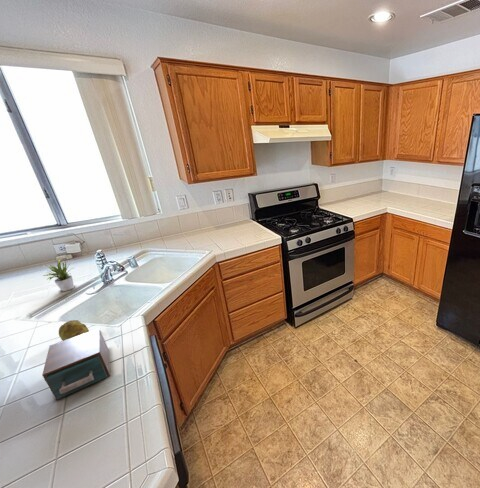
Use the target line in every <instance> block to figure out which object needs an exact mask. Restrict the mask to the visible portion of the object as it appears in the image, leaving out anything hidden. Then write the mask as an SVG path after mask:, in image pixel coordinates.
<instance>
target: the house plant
mask: <svg viewBox="0 0 480 488" xmlns="http://www.w3.org/2000/svg"><path fill="white" fill-rule="evenodd" d="M41 266H43V267H47V268H49V270H48V273H46V274H44V275H42V277H43V278H45V277H47V280H52V279H53V278H54V280H53V282H54V283H55V285H56V286H57V288H59V289H60V291H61V292H67V291H70V290H73V289H74V288H75V283H74V279H73V275H72V274H71V273H68V272H71V270H72V269H74V267H72V268H70V269H69V270H68V268H69V266H70V264H67V261H65V262H64V260H62V266H61V260H60V259H58V260H57V265H56V266H54V265H52V264H50V265H45V264H44V265H41ZM37 271H40V269H38V270H37Z"/></svg>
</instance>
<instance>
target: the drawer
mask: <svg viewBox="0 0 480 488" xmlns="http://www.w3.org/2000/svg"><path fill="white" fill-rule="evenodd" d="M106 378H108V377H107V374H106V371H105V369H104V367H103V365H102V363H101V360H100V358H99V356H95V357H92V358H90V359H87V360H85V361H82V362H80V363H77V364H75V365H72V366H70V367H67V368H65V369H62V370H60V371H57V372H55V373H52V374H51V375H49V376H47V377H46V380H47V382H48V383H49V385H50V387H51V389H52V390H53V392H54V394H55V396H56V397H57V400H59V399H62V398H64V397H66V396H68V395H71V394H72V392H73V393H75V392H77V391H79V389H80V390H82V389H84V388H85V387H88V385H89V386H91V385H93V384H95V383H98V382H100V381H102V380H104V379H106ZM101 379H102V380H101ZM99 380H100V381H99ZM90 384H91V385H90ZM81 388H82V389H81ZM70 393H71V394H70ZM63 396H64V397H63ZM61 397H62V398H61Z"/></svg>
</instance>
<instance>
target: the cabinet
mask: <svg viewBox="0 0 480 488" xmlns="http://www.w3.org/2000/svg"><path fill="white" fill-rule="evenodd" d="M95 356H99V358H100V360H101V363H102V365H103V367H104V369H105V371H106V374H107V377H106V378H109V377H111V366H110V350H109V348H108V344H107V343H106V339H105V338H104V335H103V333H102V331H101V329H100V327H98V328H96V329H93V330H92V329H91V330H89V332H87V333H84V334H81V335H78V336H75V337H73V338H70V339H67V340H64V341H63V340H62V341H59V342H56V343H52V344H50V345H49V347H48V350H47V355H46V358H45V362H44V365H43V366H44V367H43V369H42V374H41V376H42V377H43V379H44V381H45V383H46V384H47V386H48V388H49V390H50V391H51V393H52V395H53V396H54V399H55V400H56V401H57V400H58V399H57V397H56V396H55V394H54V392H53V390H52V389H51V387H50V385H49V383H48V382H47V380H46V377H47V376H49V375H51V374H52V373H55V372H57V371H60V370H62V369H65V368H67V367H70V366H72V365H75V364H77V363H80V362H82V361H85V360H87V359H90V358H92V357H95ZM102 380H103V379H101V380H99V381H98V382H100V381H102ZM91 385H92V384H90V385H88V386H91ZM88 386H87V387H88ZM82 389H83V388H81V389H79V390H82ZM79 390H78V391H79ZM72 393H74V392H72ZM72 393H70V394H69V395H71V394H72ZM64 397H65V396H63V397H61V398H60V399H62V398H64Z"/></svg>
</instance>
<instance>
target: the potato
mask: <svg viewBox="0 0 480 488" xmlns="http://www.w3.org/2000/svg"><path fill="white" fill-rule="evenodd" d="M89 331H90V329H89V328H88V327H87V325H86V324H85V323H82V322H81V321H79V320H75V319H73V320H69V321H65V322H64V323H63V324H61V325H60V327H58V336H59V338H60V340H62V341H64V340H67V339H70V338H73V337H75V336H78V335H81V334H84V333H87V332H89Z"/></svg>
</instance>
